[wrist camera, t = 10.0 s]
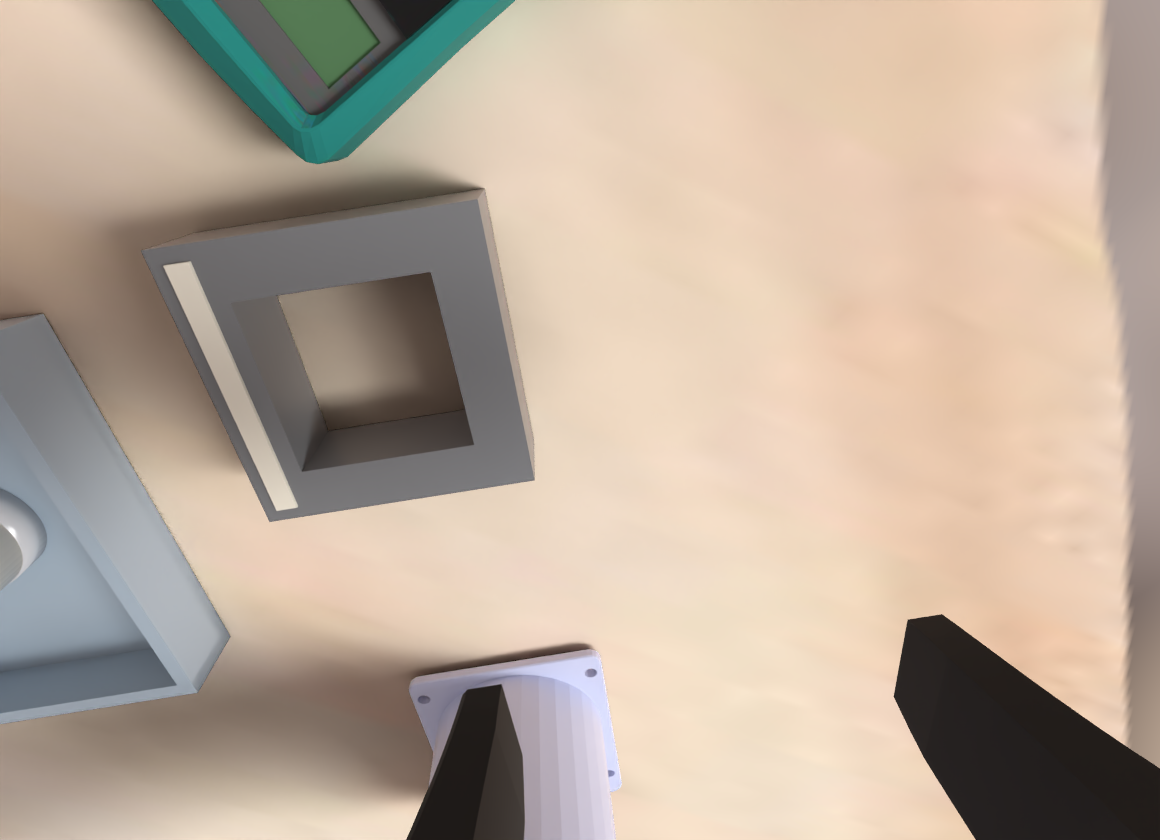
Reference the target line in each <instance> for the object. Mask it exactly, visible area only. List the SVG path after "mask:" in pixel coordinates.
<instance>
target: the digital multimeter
mask: <svg viewBox="0 0 1160 840" xmlns="http://www.w3.org/2000/svg"><path fill="white" fill-rule="evenodd" d="M152 1H153V2H154V3H155V4H156V5H157V7H158V8H159V9H160V10H161V11H162V12H163V13H164V15H165V16H166V17H167V18H168V19H169V20H170V22H171V23H172V24H173V25H174V26H175V27H176V28H177V30H178V31H179V32H180V33H181V34H182V35H183V36H184V38H185V39H186V40H187V41H188V42H189V43H190V45H191V46H192V47H193V48H194V49H195V50H196V51H197V53H198V54H199V55H200V56H201V57H202V58H203V59H204V60H205V61H206V62H207V63H208V64H209V65H210V67H211V68H212V69H213V70H214V71H215V72H216V73H217V74H218V75H219V76H220V77H221V78H222V79H223V80H224V81H225V82H226V83H227V84H228V85H229V87H230V88H231V89H232V90H233V91H234V92H235V93H236V94H237V95H238V96H239V97H240V98H241V99H242V100H243V101H244V102H245V103H246V104H247V106H248V107H249V108H250V109H251V110H252V111H253V112H254V113H255V114H256V115H257V116H258V117H259V118H260V119H261V120H262V121H263V122H264V123H265V124H266V125H267V126H268V127H269V128H270V129H271V130H272V131H273V132H274V133H275V134H276V135H277V136H278V137H279V138H280V139H281V140H282V141H283V142H284V143H285V144H286V145H287V146H288V147H289V148H290V149H291V150H292V151H293V152H294V153H295V154H296V155H298V156H299V157H300V158H302V159H303V160H304V161H306V162H310V163H315V164H321V163H327V162H332V161H338V160H341V159H343V158H345V157H348V156H349V155H350V154H351V153H352V152H353V151H354V150H355V149H356V148H357V147H358V146H359V145H360V144H361V143H362V142H364V141H365V140H366V139H367V138H368V137H369V136H370V135H371V134H372V133H373V132H374V131H375V130H376V129H377V128H378V127H379V126H380V125H381V124H382V123H383V122H384V121H386V120H387V119H388V118H389V117H390V116H391V115H392V114H393V113H394V112H395V111H396V110H397V109H398V108H399V107H400V106H401V105H402V104H403V103H404V102H405V101H406V100H408V99H409V98H410V97H411V96H412V95H413V94H414V93H415V92H416V91H417V90H418V89H419V88H420V87H421V86H422V85H423V84H424V83H425V82H426V81H427V80H428V79H430V78H431V77H432V76H433V75H434V74H435V73H436V72H437V71H438V70H439V69H440V68H441V67H442V66H443V65H444V64H445V63H446V62H447V61H448V60H449V59H450V58H452V57H453V56H454V55H455V54H456V53H457V52H458V51H459V50H460V49H461V48H462V47H463V46H464V45H466V44H467V43H468V42H469V41H470V40H471V39H472V38H473V37H475V36H476V35H477V34H478V33H479V32H480V31H481V30H482V29H484V28H485V27H486V26H487V25H488V24H489V23H490V22H491V21H493V20H494V19H495V18H496V17H497V16H498V15H499V14H500V13H502V12H503V11H504V10H505V9H506V8H507V7H508V6H510V5H511V4H512V3H513V2H514V1H515V0H451V1H450V0H152ZM449 1H450V2H449ZM448 2H449V3H448ZM447 3H448V4H447ZM443 6H444V7H443ZM442 7H443V8H442ZM441 8H442V9H441ZM440 9H441V10H440ZM439 10H440V11H439ZM438 11H439V12H438ZM434 14H435V15H434ZM433 15H434V16H433ZM432 16H433V17H432ZM431 17H432V18H431ZM430 18H431V19H430ZM425 22H426V23H425ZM424 23H425V24H424ZM423 24H424V25H423ZM422 25H423V26H422ZM416 30H417V31H416ZM415 31H416V32H415ZM414 32H415V33H414ZM413 33H414V34H413ZM408 37H409V38H408ZM281 81H282V82H281ZM285 86H286V87H285ZM289 91H290V92H291V93H290V92H289ZM292 95H293V96H294V97H295V98H296V99H295V98H294V97H293V96H292ZM296 100H297V101H298V102H299V103H300V104H299V103H298V102H297V101H296ZM300 105H301V106H302V107H303V108H304V109H305V110H304V109H303V108H302V107H301V106H300Z"/></svg>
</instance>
